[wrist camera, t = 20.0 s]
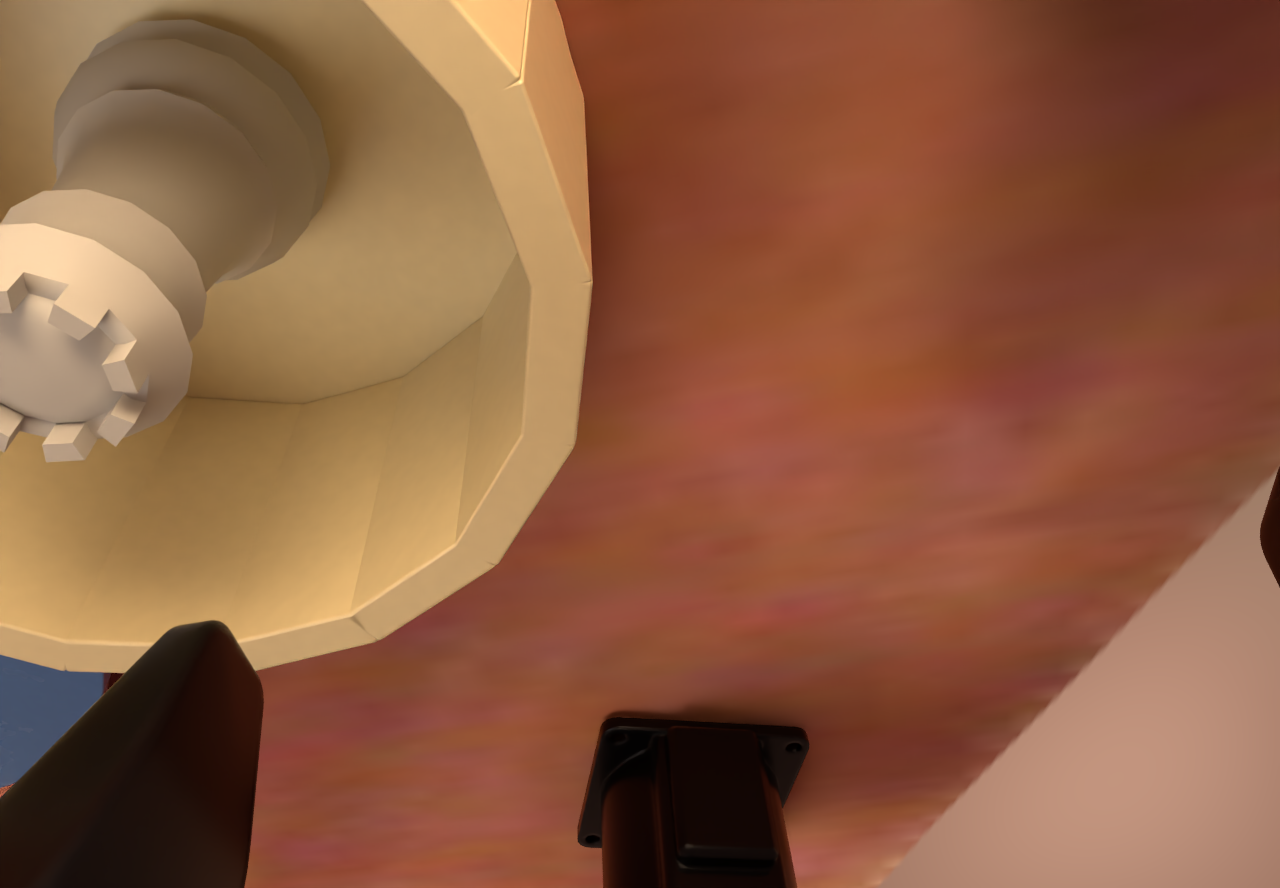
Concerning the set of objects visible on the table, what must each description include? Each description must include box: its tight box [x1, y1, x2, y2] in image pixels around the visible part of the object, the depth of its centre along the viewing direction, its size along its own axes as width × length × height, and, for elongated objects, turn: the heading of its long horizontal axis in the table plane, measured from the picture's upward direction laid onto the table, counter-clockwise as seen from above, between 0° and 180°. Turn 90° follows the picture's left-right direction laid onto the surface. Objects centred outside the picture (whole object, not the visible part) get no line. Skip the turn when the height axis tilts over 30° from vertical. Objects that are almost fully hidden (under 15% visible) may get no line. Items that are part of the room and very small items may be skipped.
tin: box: [0, 0, 593, 673], centre depth 16 cm, size 14×14×8 cm
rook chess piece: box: [0, 19, 330, 462], centre depth 15 cm, size 4×4×8 cm
